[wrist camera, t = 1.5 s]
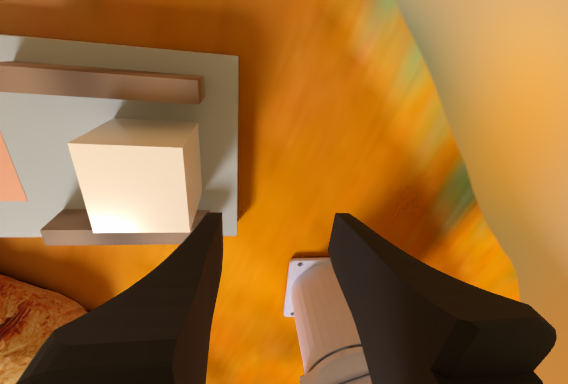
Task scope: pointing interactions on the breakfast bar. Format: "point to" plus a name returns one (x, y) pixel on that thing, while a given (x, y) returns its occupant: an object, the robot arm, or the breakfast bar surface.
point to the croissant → (28, 323)
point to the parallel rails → (107, 85)
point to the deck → (96, 111)
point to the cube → (139, 175)
